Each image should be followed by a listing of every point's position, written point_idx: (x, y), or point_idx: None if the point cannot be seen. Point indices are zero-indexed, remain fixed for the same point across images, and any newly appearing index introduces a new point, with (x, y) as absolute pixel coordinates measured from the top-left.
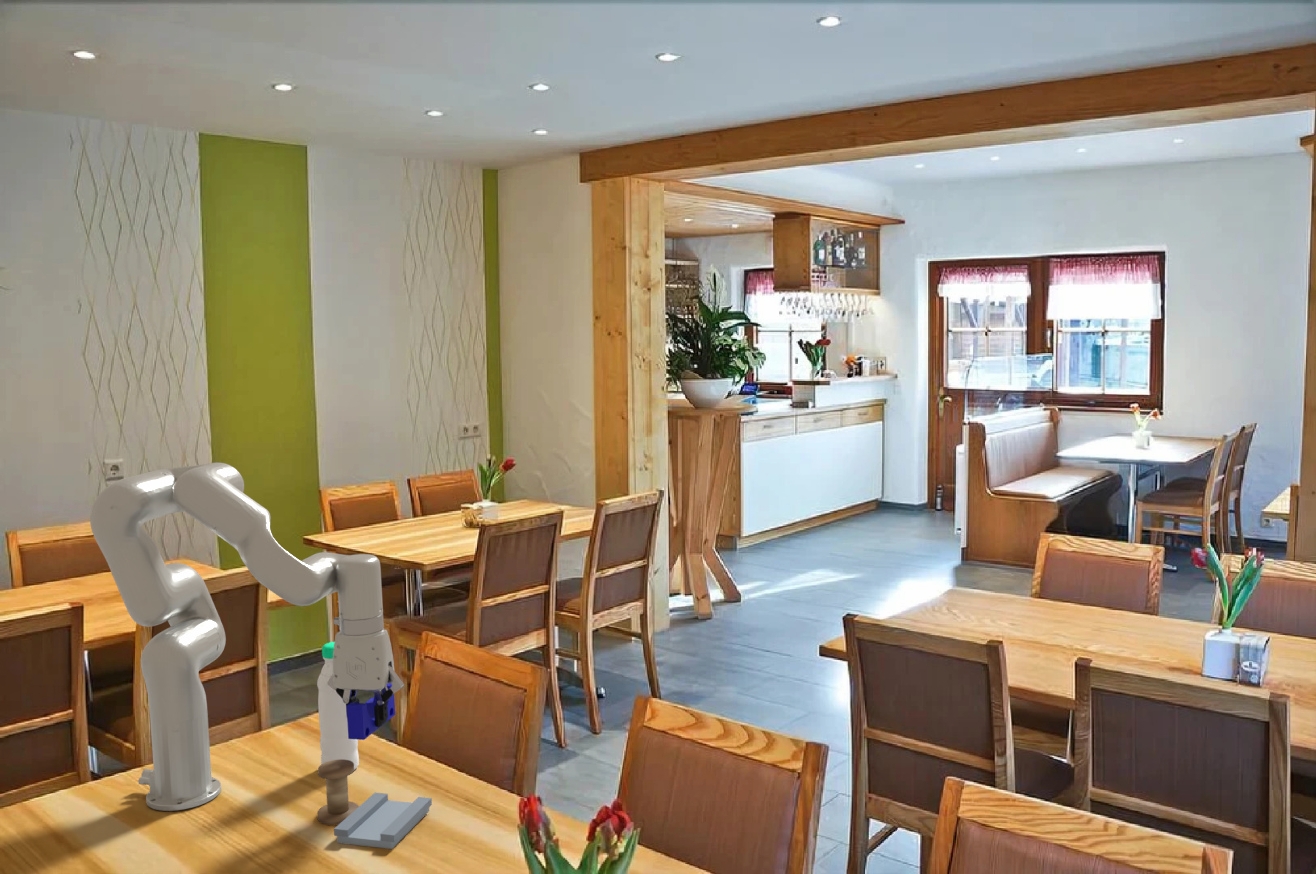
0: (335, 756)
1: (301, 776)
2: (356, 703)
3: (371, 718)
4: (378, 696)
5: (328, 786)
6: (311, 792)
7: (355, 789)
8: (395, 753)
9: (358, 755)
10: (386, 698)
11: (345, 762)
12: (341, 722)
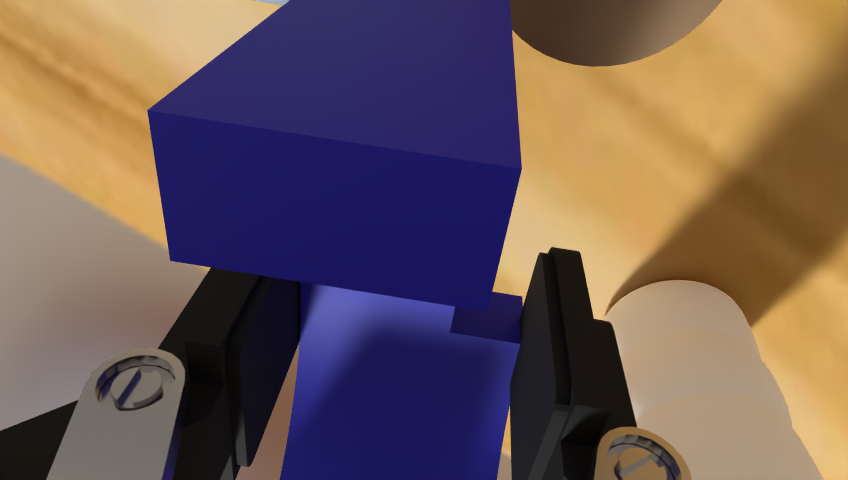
0: (692, 331)
1: (820, 276)
2: (359, 275)
3: (377, 318)
4: (103, 455)
5: None
6: (757, 142)
7: (563, 170)
8: None
9: None
10: (36, 431)
11: (558, 15)
12: (698, 466)
